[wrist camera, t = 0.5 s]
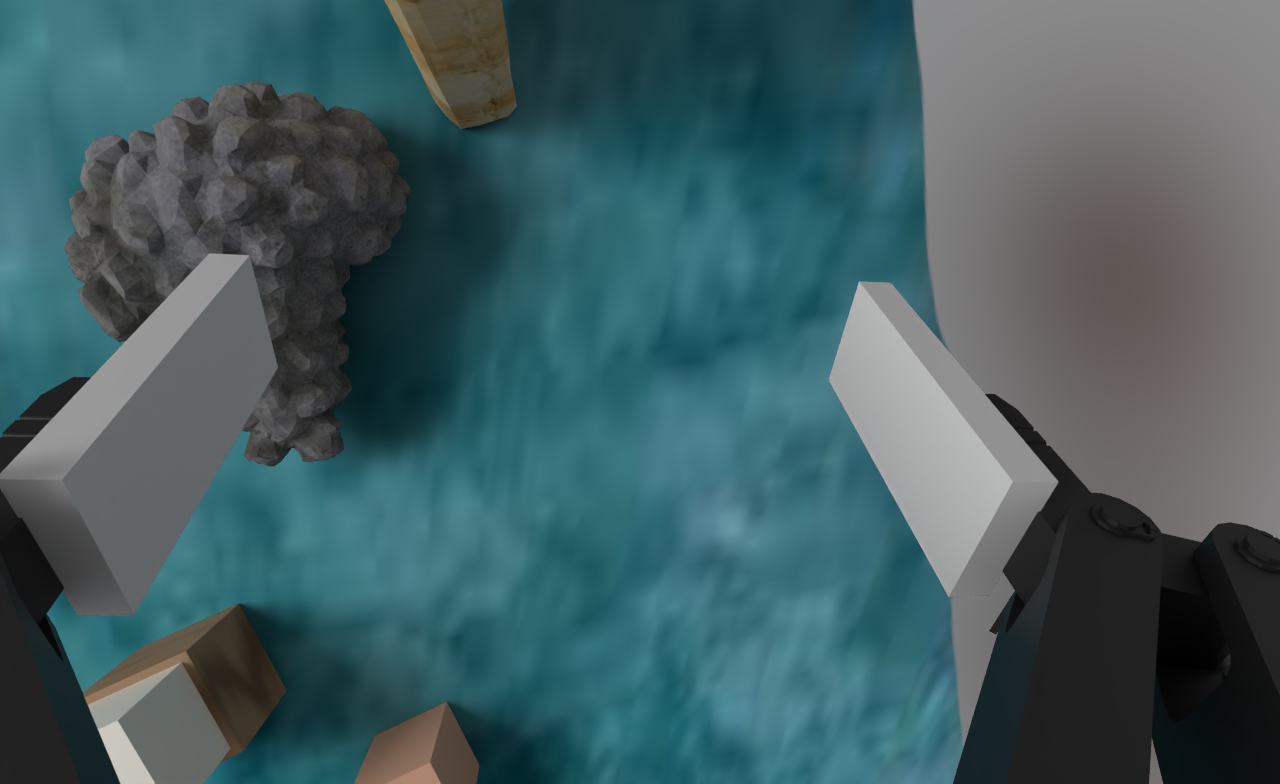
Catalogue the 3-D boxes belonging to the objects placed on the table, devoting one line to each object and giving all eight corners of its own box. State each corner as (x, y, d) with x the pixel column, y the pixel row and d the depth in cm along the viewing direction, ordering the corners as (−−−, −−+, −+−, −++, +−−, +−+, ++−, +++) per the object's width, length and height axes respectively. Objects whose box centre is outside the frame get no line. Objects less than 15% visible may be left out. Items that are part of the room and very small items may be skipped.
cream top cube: (230, 748, 41) (176, 819, 35) (133, 794, 40) (61, 874, 35) (181, 662, 40) (117, 720, 34) (81, 708, 40) (-2, 775, 34)
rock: (230, 386, 52) (396, 455, 49) (-15, 427, 37) (198, 530, 34) (273, 88, 47) (461, 142, 44) (9, 0, 32) (262, 71, 29)
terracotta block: (479, 765, 50) (468, 835, 43) (408, 799, 50) (386, 875, 43) (446, 701, 49) (429, 762, 43) (374, 735, 49) (346, 802, 42)
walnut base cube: (287, 690, 48) (242, 751, 41) (190, 735, 47) (129, 805, 40) (239, 603, 47) (185, 651, 40) (139, 648, 46) (68, 704, 40)
